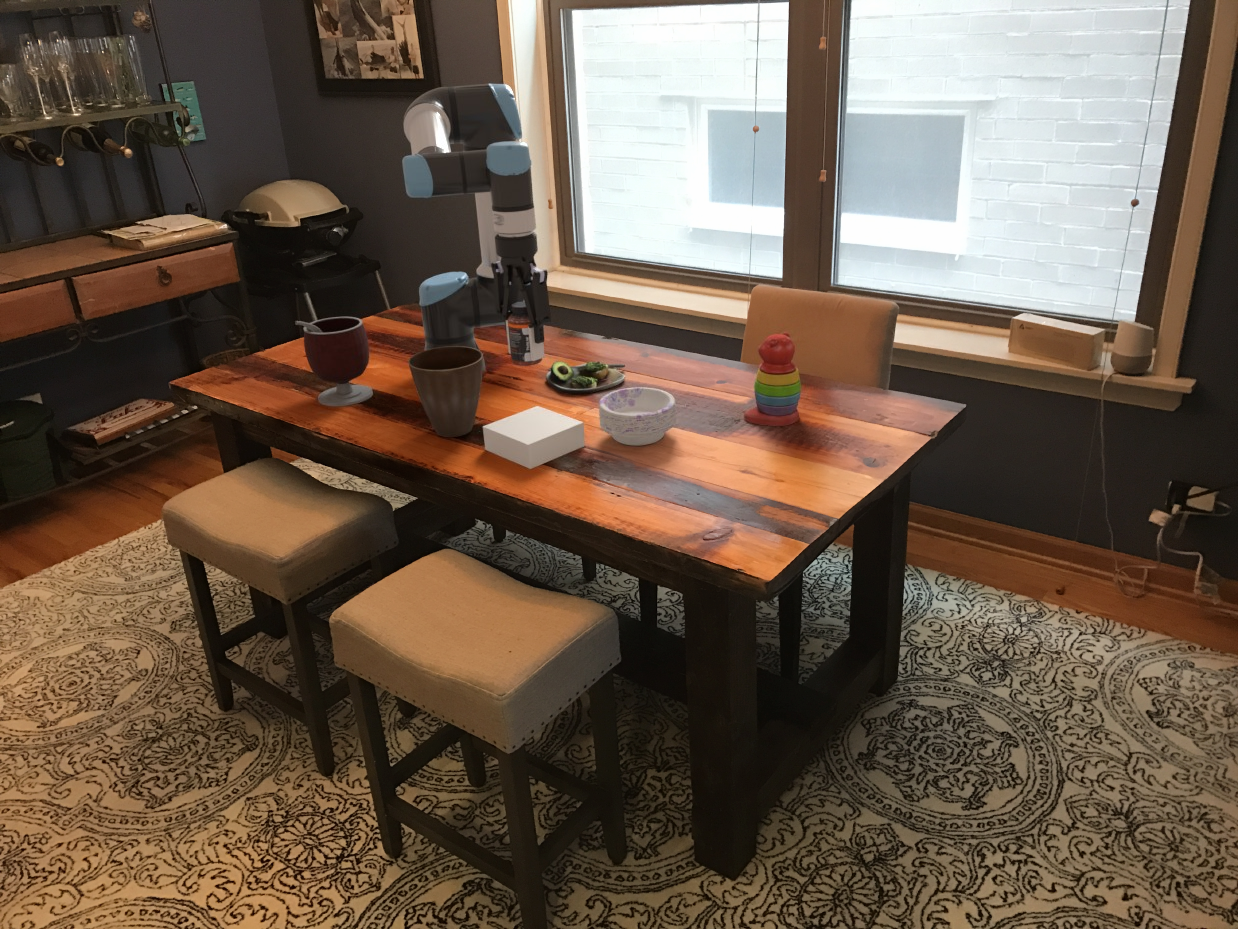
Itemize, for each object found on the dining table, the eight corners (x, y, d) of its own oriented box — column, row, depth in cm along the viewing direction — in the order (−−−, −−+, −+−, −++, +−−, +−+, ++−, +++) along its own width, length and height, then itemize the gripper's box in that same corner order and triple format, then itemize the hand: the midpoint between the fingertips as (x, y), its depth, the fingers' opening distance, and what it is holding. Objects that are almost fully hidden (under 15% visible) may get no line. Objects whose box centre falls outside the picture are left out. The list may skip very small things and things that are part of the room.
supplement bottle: (538, 367, 184) (532, 308, 179) (507, 367, 185) (501, 308, 180) (546, 357, 189) (541, 299, 185) (516, 356, 190) (511, 299, 186)
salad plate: (610, 362, 241) (609, 344, 239) (644, 383, 226) (643, 364, 224) (537, 377, 233) (535, 359, 231) (567, 400, 219) (565, 381, 217)
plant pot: (500, 418, 210) (492, 346, 203) (477, 446, 197) (468, 370, 190) (434, 415, 213) (424, 345, 206) (407, 443, 200) (396, 368, 193)
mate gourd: (356, 381, 236) (342, 300, 227) (388, 394, 227) (374, 310, 218) (297, 400, 226) (280, 315, 218) (327, 414, 217) (311, 326, 209)
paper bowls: (654, 457, 188) (653, 419, 185) (586, 445, 195) (584, 407, 192) (689, 428, 200) (688, 392, 197) (623, 418, 207) (621, 382, 204)
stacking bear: (771, 404, 210) (773, 323, 202) (811, 415, 203) (814, 332, 195) (739, 419, 203) (739, 336, 195) (779, 431, 196) (781, 346, 189)
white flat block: (485, 449, 195) (482, 426, 193) (539, 428, 204) (537, 405, 202) (530, 469, 186) (528, 444, 184) (585, 445, 194) (583, 422, 192)
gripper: (467, 230, 181) (480, 350, 191) (533, 242, 168) (543, 370, 178) (499, 223, 186) (510, 341, 195) (565, 234, 173) (574, 360, 183)
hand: (526, 355), depth 187 cm, fingers closed on supplement bottle, 6 cm apart
